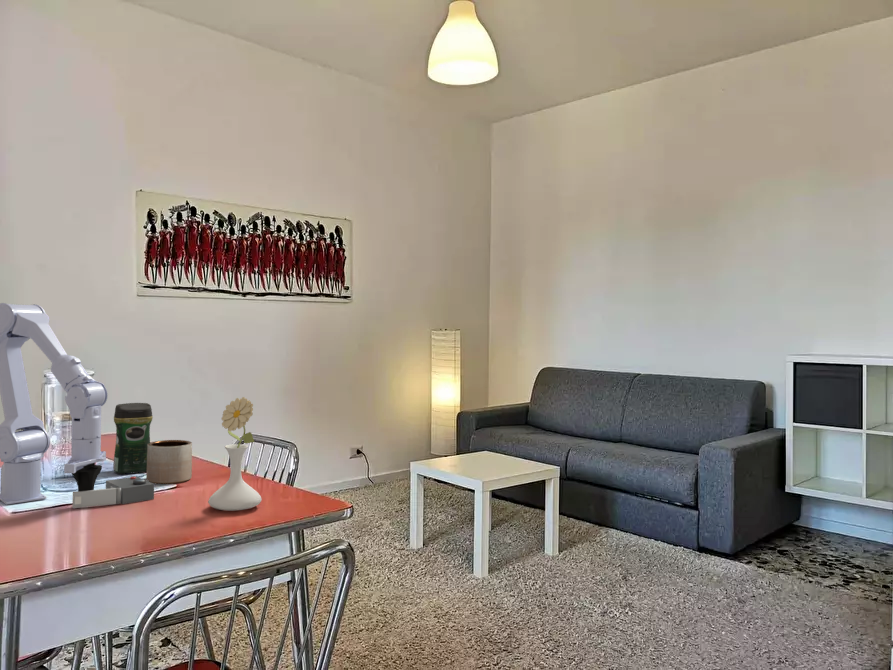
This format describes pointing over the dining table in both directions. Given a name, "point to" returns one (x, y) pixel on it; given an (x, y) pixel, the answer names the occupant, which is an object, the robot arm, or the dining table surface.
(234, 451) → the flower in vase
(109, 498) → the side door
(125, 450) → the coffee jar
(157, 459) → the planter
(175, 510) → the dining table surface
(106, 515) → the dining table surface
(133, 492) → the grey switch box
